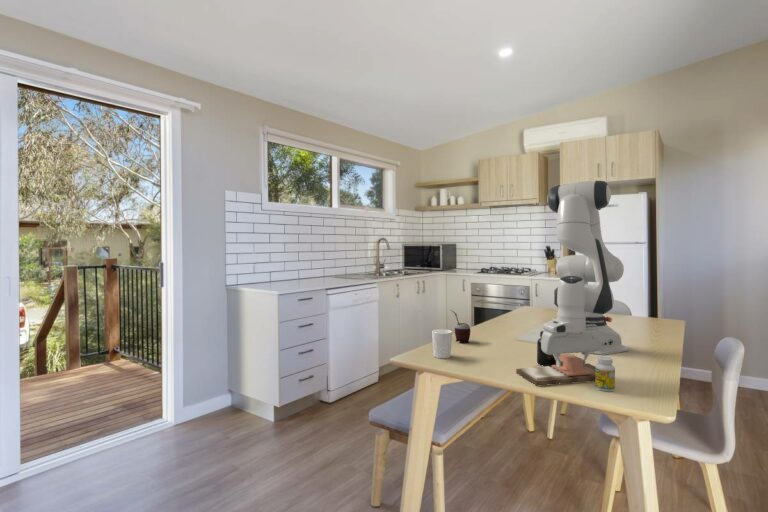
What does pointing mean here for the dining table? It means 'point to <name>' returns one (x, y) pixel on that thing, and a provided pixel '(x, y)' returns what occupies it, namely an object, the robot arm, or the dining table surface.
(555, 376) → the ticket board
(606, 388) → the supplement bottle
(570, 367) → the stub
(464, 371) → the dining table surface
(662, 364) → the dining table surface
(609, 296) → the robot arm
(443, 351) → the white cup
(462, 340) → the mate gourd
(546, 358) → the supplement bottle
